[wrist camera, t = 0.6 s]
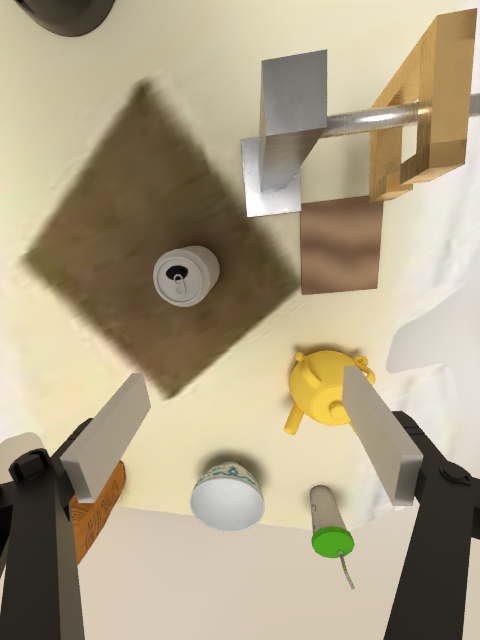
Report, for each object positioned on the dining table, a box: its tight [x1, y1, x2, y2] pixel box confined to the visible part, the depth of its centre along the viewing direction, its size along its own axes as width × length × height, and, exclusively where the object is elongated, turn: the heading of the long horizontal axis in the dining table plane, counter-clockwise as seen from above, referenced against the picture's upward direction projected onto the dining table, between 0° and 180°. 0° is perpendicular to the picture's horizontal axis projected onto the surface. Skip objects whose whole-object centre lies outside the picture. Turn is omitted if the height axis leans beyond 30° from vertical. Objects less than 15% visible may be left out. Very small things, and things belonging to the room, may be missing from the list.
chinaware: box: [190, 461, 265, 532], centre depth 54 cm, size 15×15×8 cm
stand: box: [241, 50, 480, 218], centre depth 25 cm, size 10×20×24 cm, turn 96°
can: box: [153, 246, 220, 307], centre depth 37 cm, size 8×8×12 cm
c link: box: [369, 8, 477, 202], centre depth 22 cm, size 9×2×10 cm, turn 6°
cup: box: [310, 485, 355, 589], centre depth 50 cm, size 8×8×15 cm
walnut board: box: [300, 196, 384, 295], centre depth 40 cm, size 14×12×1 cm
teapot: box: [284, 350, 375, 439], centre depth 42 cm, size 14×14×11 cm
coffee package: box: [69, 462, 125, 566], centre depth 50 cm, size 10×12×22 cm
